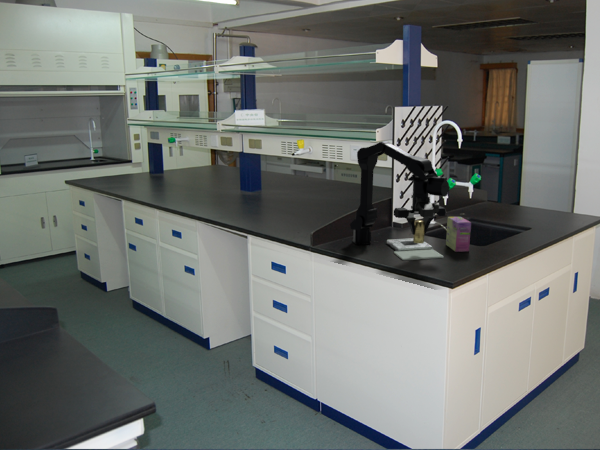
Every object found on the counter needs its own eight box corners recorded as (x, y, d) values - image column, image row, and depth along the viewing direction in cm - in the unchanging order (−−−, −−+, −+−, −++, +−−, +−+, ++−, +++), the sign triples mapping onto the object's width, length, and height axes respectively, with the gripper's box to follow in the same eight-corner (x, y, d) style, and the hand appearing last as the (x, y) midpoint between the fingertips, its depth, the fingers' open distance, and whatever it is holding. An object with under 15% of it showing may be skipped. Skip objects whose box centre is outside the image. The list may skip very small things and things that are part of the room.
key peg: (415, 243, 195) (416, 222, 193) (411, 240, 199) (412, 220, 197) (425, 243, 195) (426, 222, 194) (421, 240, 199) (422, 220, 197)
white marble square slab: (398, 252, 203) (398, 248, 202) (386, 243, 216) (386, 239, 216) (432, 250, 205) (432, 246, 204) (418, 241, 218) (418, 237, 218)
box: (469, 251, 202) (471, 221, 200) (455, 252, 202) (456, 222, 199) (459, 244, 213) (461, 216, 210) (445, 245, 212) (447, 216, 209)
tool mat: (402, 260, 192) (402, 258, 192) (393, 252, 202) (393, 251, 202) (443, 257, 195) (443, 256, 194) (432, 250, 204) (432, 249, 204)
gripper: (404, 198, 184) (402, 241, 187) (453, 196, 186) (451, 238, 190) (393, 193, 194) (392, 233, 198) (440, 191, 197) (438, 231, 201)
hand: (418, 234), depth 196 cm, fingers closed on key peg, 4 cm apart
